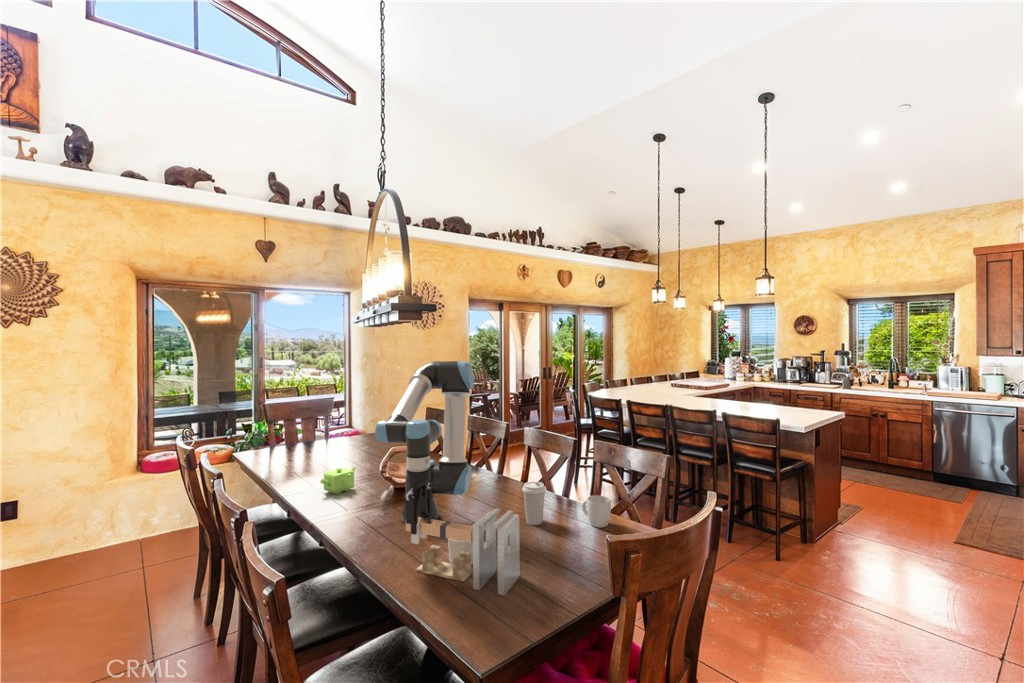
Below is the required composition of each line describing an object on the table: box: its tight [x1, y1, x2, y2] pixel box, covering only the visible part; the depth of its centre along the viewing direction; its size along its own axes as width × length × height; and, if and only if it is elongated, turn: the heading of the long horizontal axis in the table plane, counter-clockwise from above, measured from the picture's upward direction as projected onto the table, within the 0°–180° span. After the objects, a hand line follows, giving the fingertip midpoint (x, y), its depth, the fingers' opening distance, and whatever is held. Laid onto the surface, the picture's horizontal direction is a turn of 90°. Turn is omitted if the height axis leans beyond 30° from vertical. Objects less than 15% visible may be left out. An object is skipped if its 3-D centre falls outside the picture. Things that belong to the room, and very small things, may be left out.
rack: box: [416, 544, 473, 582], centre depth 148 cm, size 17×7×6 cm, turn 67°
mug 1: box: [447, 538, 473, 565], centre depth 157 cm, size 13×10×8 cm
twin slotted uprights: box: [472, 507, 521, 596], centre depth 141 cm, size 10×12×20 cm
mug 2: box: [581, 495, 612, 529], centre depth 185 cm, size 13×9×10 cm
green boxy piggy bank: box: [320, 465, 358, 496], centre depth 226 cm, size 15×14×11 cm
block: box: [405, 517, 473, 543], centre depth 149 cm, size 24×4×4 cm, turn 67°
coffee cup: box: [521, 481, 547, 526], centre depth 187 cm, size 10×10×15 cm
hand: (419, 540), depth 152 cm, fingers closed on block, 4 cm apart
